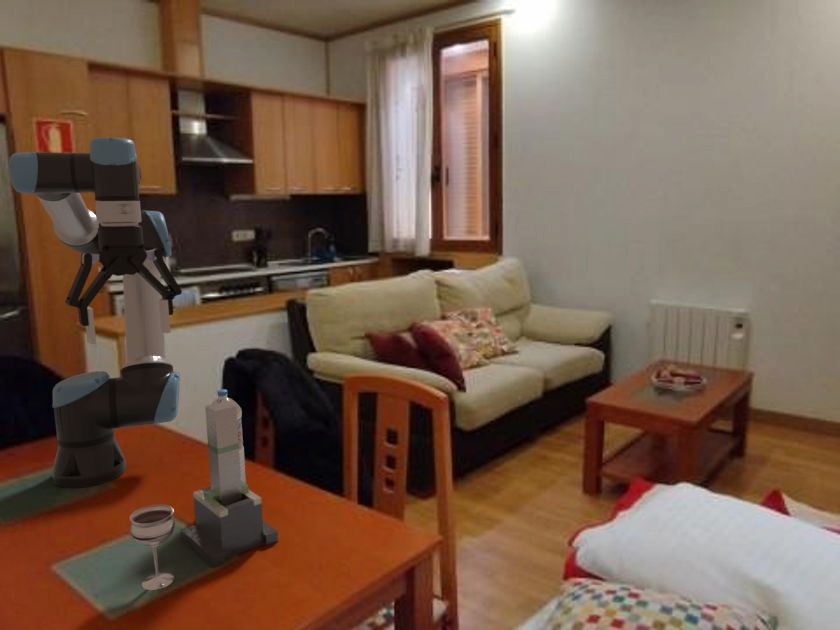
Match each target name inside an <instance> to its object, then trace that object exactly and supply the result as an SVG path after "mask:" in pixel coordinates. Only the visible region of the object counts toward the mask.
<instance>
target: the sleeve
mask: <svg viewBox="0 0 840 630" xmlns="http://www.w3.org/2000/svg"><path fill="white" fill-rule="evenodd" d="M208 490H211V485H210V486H207V487H205V488H202V489H198V490H195V491H193V492H192V498H193V508H194V519H195V523H194V524H195V525H194V524H192V525H189V526H187V527H184V528H181V529H180V533H181V534H180V535H181V540H182V541H183V542H184V543H185V544H186V545H187V546H188V547H190V548H191V549H192V550H193V551H194V553H196V554H197V556H199V557H200V558H201V559H202V560H204V561H205V562H206V563H207V564H208V565H209V566H210V567H211V568H215V567H218V566H220V565H224V564H225V563H226V560H227V559H229V558H232V557H235V556H237V555H240V554H241V553H244V552H247V551H249V550H251V549H254V548H257V547H259V546H261V545H265V546H269V545H272V544H275V543H277V542H279V531H278V530H277V529H275V528H274V527H273V526H271V524H269V523H268V522H266V521H264V520H263V505H262V497H261V496H259V495H258V494H256V493H254V492H253V491H251V490H250V489H249V492H246V493H243V494H242V501H239V502H236V503H233V504H230V505H227V506H225V507H224V506H222V505H221V504H220V503H218V502H217V503H214V504H211V503H210V502H209V501H207V500H206V499H205V498H204V492H205V491H208Z"/></svg>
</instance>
